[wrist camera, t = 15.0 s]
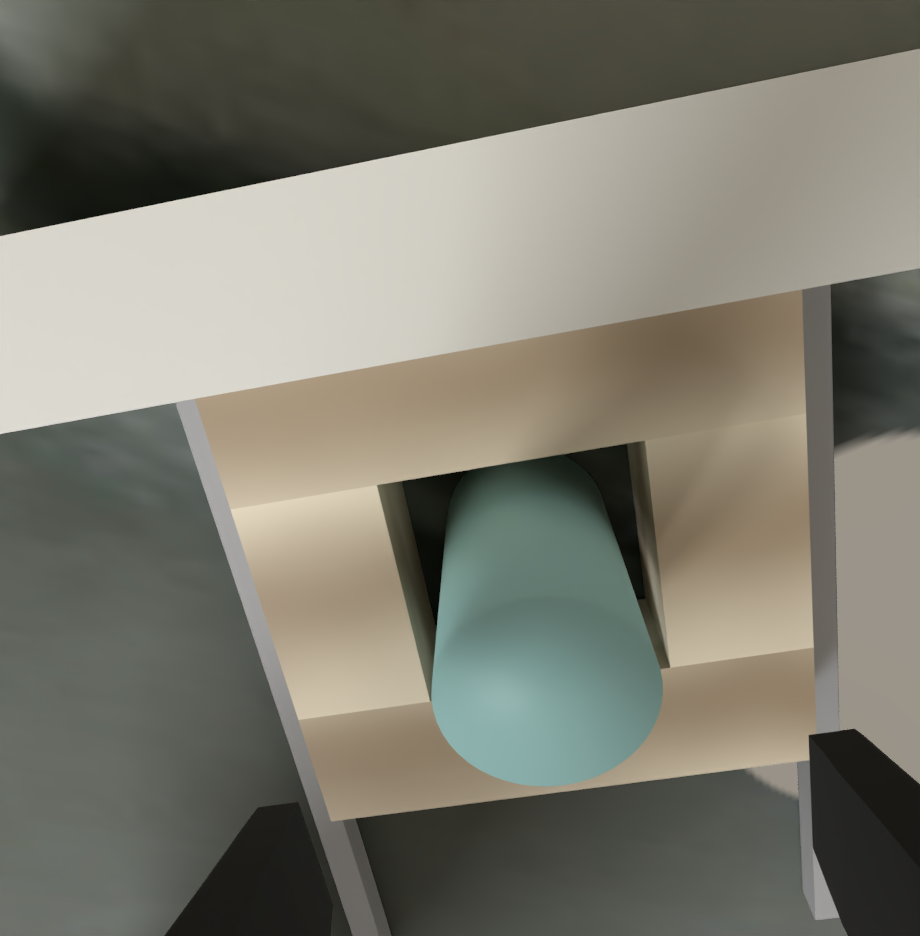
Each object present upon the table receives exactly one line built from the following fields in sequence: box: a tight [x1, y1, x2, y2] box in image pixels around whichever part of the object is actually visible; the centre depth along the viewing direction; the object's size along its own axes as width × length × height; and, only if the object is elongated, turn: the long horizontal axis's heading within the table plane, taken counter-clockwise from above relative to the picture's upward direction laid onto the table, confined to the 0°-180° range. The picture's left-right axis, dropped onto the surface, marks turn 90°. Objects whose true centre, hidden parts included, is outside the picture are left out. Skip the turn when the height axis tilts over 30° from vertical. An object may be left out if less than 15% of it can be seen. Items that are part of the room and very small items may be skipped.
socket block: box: [195, 290, 817, 821], centre depth 19 cm, size 12×12×3 cm
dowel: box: [431, 454, 663, 787], centre depth 17 cm, size 4×4×7 cm
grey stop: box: [0, 49, 920, 936], centre depth 19 cm, size 23×22×6 cm
